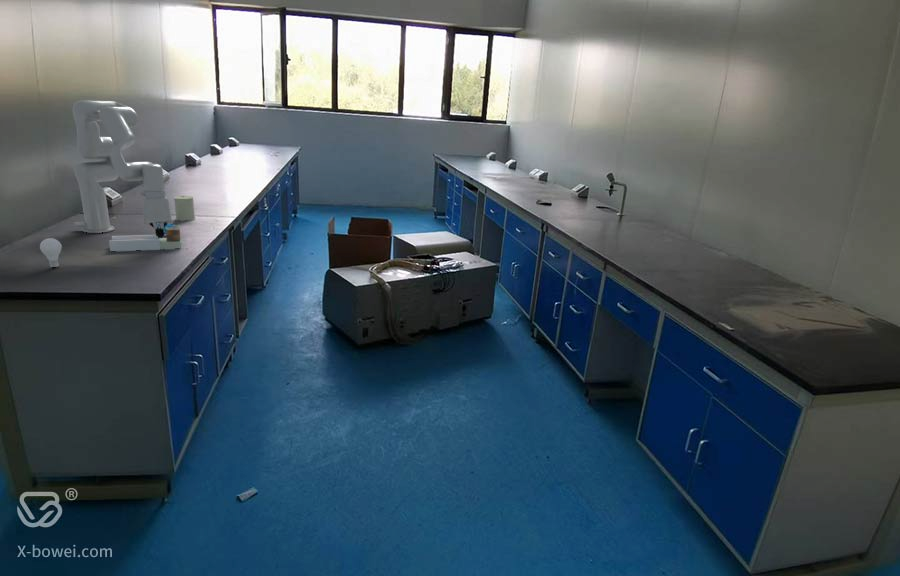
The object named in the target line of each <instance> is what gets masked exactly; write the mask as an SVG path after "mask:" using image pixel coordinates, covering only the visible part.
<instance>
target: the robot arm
mask: <svg viewBox="0 0 900 576" xmlns="http://www.w3.org/2000/svg"><path fill="white" fill-rule="evenodd" d="M72 116H73V120H74V122H75V126H76V145H77V146H76V147H77V153H78V155H79V157H81V158H83V159H86V160H84V161H80V162H77V163H76V164H75V165H74V167H73V172H74V175H75V178H76V180H77V183H78V188H79V192H80V193H79V194H80V200H81V205H82V211H83V212H82V213H83V217H84V220H83V221H81V222H80V221H74V222H73V225H74V227H76V228H80V227H82V228H81V229H82V230H81V231H82V232H84V233H86V232H87V233H88V234H101V233H102V232H103V233H109V232H112V231H114V230H115V226H113V225H111V221H110V215H109V209H108V202H107V196H106V191H105V189H104V188H103V187H102V186H101V185H100V184H99V183H104V182H113V181H115V180H117V179H118V178H120V179H121V180H123V181H125V182H137V181H142V183H143V191H140V196H143V199H142V213H143V224H144V225H146V226H150V227H152V228H154V230H155V235H156V236H158V238H164V236H165V234H164V229H163V228H164V227H165V226H166V225H168V224H172V223H173V224H174V222H173V219H172V209H171V205H170V201H169V198H168V197H167V196H166V187H165V179H164V178H165V177H164V172H163V171H164V170H163V166H162V165H161V164H159V163H158V164H157V163H153V162H150V161H133V162H126V161H125V159H124V156H123V155H122V152H123V150H126V149H128V148H130V147H131V146H132V145H134V144H135V142H136V137H135V135H134V132H133V131H132V129H131V128H136V127H137V126H138V125H139V122H140V120H139V116H138V113H137V112H136V111H135V110H134V109H133V108H132V107H130V106H128V105H126V104H123V103H120V102H118V101H112V100H111V101H110V100H92V99H82V100H77V101H75V102H74V103H73V105H72ZM98 122H101V123H102V125H103V127H104V130H106V132H107V135H108V136H101V128H100V126H99V124H98ZM95 159H97V160H95ZM98 159H103V160H98ZM158 222H161V226H160V227H159V226H158Z"/></svg>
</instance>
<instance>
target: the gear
mask: <svg viewBox="0 0 900 576" xmlns="http://www.w3.org/2000/svg"><path fill="white" fill-rule="evenodd" d="M157 225H158V227H159V228H160V226H161V222H157ZM171 227H179V226H178V225H177V224H176V225H174V222H173V223H172V224H168V225H166V226H165V227H164V228H163V229H164V235H166V228H171Z"/></svg>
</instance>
